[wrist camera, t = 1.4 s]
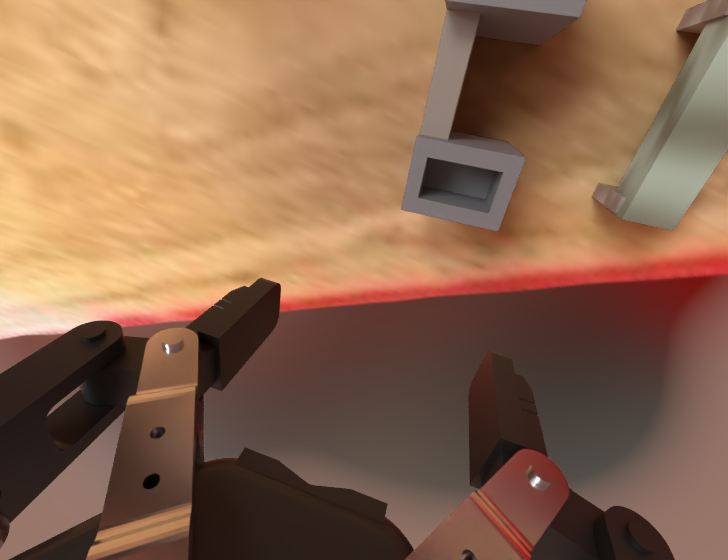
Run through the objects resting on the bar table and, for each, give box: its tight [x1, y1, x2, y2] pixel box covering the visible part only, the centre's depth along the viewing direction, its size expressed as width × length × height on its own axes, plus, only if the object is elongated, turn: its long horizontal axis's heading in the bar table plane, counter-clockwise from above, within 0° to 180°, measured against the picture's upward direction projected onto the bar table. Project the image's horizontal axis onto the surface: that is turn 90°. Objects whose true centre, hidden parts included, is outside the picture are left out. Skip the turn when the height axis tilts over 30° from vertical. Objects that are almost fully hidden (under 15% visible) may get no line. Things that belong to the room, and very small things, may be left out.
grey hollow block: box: [401, 0, 586, 232], centre depth 24 cm, size 17×7×10 cm, turn 171°
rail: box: [592, 0, 728, 230], centre depth 23 cm, size 14×4×6 cm, turn 171°
